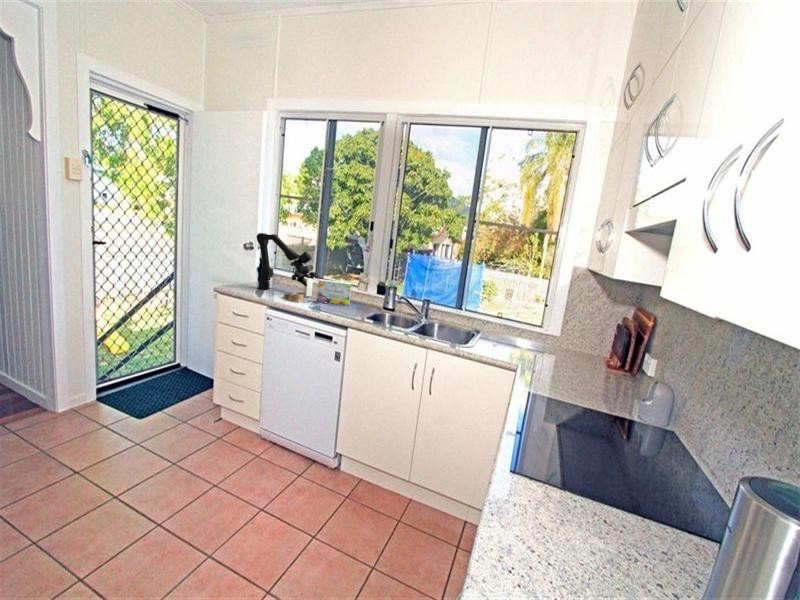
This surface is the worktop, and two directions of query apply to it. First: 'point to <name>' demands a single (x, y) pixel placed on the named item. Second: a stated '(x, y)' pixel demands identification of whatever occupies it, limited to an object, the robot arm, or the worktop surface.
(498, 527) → the worktop surface
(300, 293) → the frame
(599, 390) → the worktop surface
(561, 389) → the worktop surface
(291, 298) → the block
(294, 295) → the offcut top
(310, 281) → the white rectangular block
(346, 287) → the snack box
